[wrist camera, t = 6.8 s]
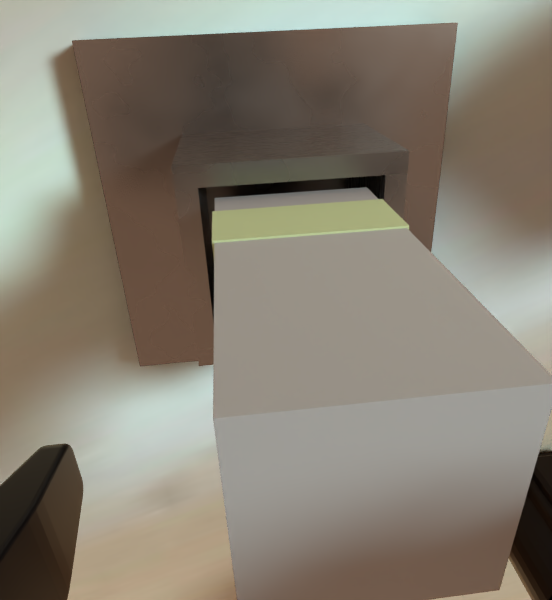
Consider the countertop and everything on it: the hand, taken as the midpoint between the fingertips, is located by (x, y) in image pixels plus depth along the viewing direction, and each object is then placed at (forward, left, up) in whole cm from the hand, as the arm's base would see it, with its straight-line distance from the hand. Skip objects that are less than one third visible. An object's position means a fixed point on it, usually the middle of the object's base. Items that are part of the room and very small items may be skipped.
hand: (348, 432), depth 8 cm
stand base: (0, 0, -12) cm, 12 cm away
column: (0, 0, -7) cm, 7 cm away
